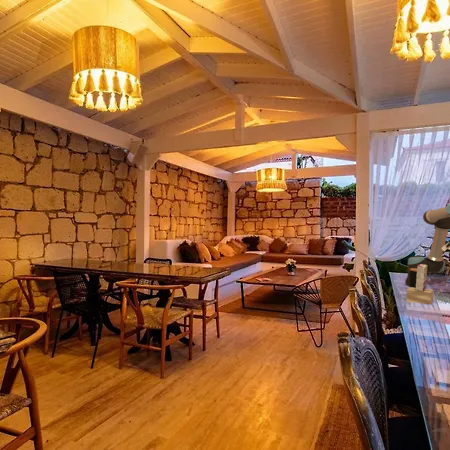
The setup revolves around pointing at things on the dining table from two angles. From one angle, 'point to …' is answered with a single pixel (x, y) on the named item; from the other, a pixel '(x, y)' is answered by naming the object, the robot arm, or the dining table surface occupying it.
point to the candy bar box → (421, 277)
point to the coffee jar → (413, 277)
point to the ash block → (419, 296)
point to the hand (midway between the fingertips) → (445, 249)
